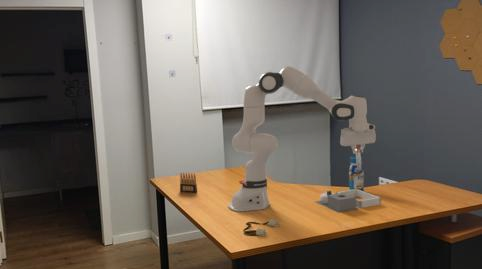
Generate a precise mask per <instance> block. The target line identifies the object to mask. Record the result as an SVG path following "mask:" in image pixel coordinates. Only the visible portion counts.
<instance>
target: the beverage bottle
mask: <svg viewBox="0 0 482 269" xmlns="http://www.w3.org/2000/svg"><path fill="white" fill-rule="evenodd" d="M363 160H364V159H363V157H362V156H361V166H362V170H357V163H356V156H350V166H349V168H348V169H349V171H348V177H349V179H348V182H349V183H348V186H349V188H348V190H353V189H358V190H361V191H363V192H365V191H364V185H365V183H364V180H365V173H364V170H365V169H364V165H363Z"/></svg>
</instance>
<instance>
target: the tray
mask: <svg viewBox="0 0 482 269" xmlns="http://www.w3.org/2000/svg"><path fill="white" fill-rule="evenodd" d="M338 193H346V194H349V195H352V196H354V197H356V208H358V209H363V208H368V207H369V208H370V207H373V206H379V205H382V201H381V200H382V198H381V197H380V196H377V195H374V194H372V193H369V192H366V191H361V190H358V189H353V190H349V189H348V190H341V191H337V192H336V194H338ZM357 197H358V198H360V199H361V200H360V199H357ZM362 199H363V200H362Z"/></svg>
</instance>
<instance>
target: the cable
mask: <svg viewBox="0 0 482 269" xmlns="http://www.w3.org/2000/svg"><path fill="white" fill-rule="evenodd" d="M252 224H255V225H261V223H260V222H255V221H247V222H246V224H245V225H248V226H246V227H245V228H244V229H243V230H242V231H243V232H244V233H245V234H253V233H255V234H256V236H260V237H264V236H267V231H266V229H265V228H260V227H259V228H257V229H256V230H250V231H246V230H248V229H249V228H251V227H252ZM262 225H264V226H265V225H268V226H269V227H272V228H273V227H274V228H276V227H278V226H279V225H280V224H279V222H278V220H276V219H272V218H271V219H269V220H268V221H267V222H263V223H262Z"/></svg>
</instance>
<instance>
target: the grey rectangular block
mask: <svg viewBox="0 0 482 269" xmlns="http://www.w3.org/2000/svg"><path fill="white" fill-rule="evenodd" d="M356 199H357V196H352V195H349V194H346V193H338V194H337V193H335V192H332V190H326V192H323V193H321V194H320V200H317V201H315V203H316V204H319V205H321V206H323V207H324V208H325V207H326V208H327V209H330V210H331V211H333V212H336V213H338V214H341V213H346V212H350V211H356V210H359V208H358V207H356Z"/></svg>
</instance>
